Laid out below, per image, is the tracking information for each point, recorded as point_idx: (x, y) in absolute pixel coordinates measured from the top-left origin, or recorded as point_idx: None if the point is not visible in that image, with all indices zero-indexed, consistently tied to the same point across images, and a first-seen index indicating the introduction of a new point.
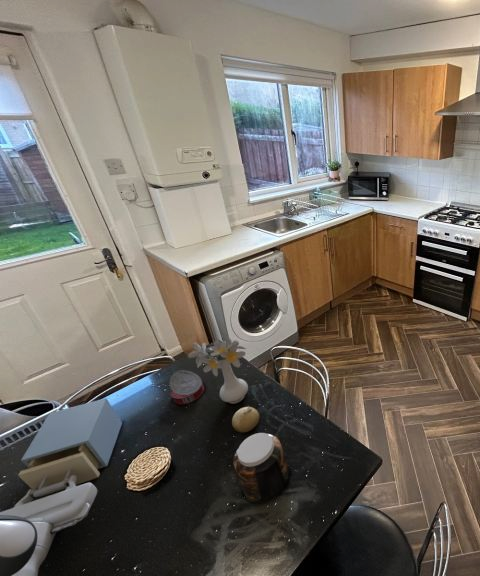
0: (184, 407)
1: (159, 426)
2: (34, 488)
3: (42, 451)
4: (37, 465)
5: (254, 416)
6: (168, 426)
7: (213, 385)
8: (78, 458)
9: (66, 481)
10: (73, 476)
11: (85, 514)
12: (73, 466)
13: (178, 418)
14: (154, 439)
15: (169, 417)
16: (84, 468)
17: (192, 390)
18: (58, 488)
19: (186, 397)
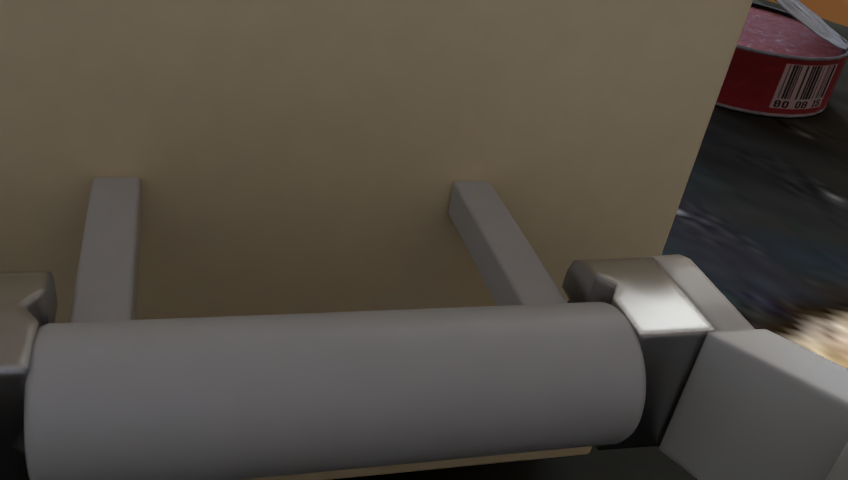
0: (789, 132)
1: (729, 188)
2: (14, 277)
3: None
4: None
5: None
6: (807, 204)
7: (844, 81)
8: (706, 3)
9: (666, 318)
10: (698, 274)
11: None
12: (540, 145)
13: (826, 177)
14: (793, 259)
15: (744, 157)
16: (600, 253)
17: (828, 36)
18: (541, 423)
19: (814, 63)
